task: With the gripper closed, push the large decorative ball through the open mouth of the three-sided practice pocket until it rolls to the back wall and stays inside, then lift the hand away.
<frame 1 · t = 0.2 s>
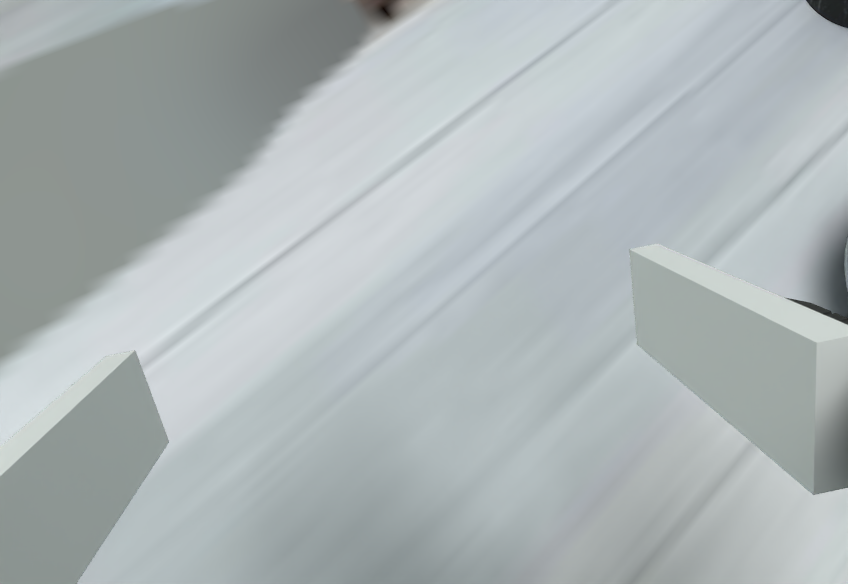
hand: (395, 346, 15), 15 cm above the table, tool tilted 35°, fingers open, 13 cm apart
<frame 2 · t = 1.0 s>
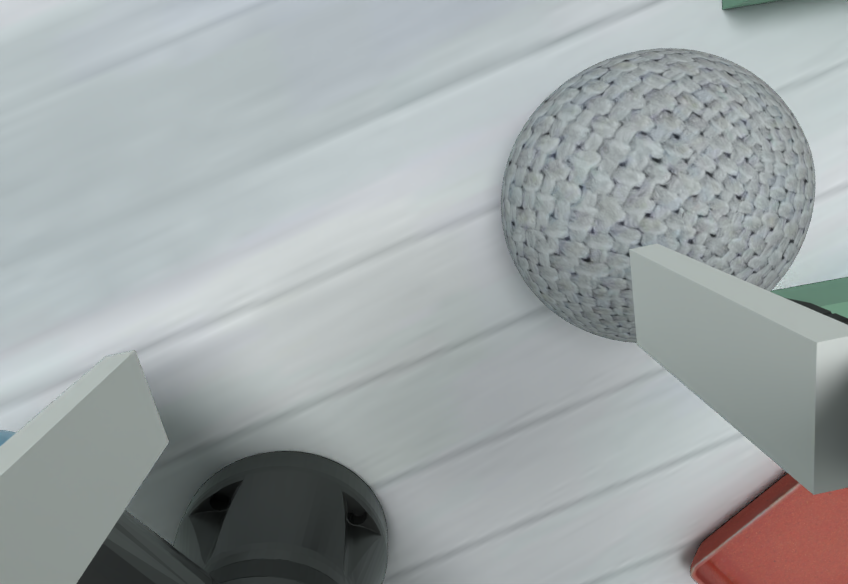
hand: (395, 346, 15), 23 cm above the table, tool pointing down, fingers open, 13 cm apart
decorative ball: (589, 187, 37), on the table
plant saucer: (810, 534, 48), on the table
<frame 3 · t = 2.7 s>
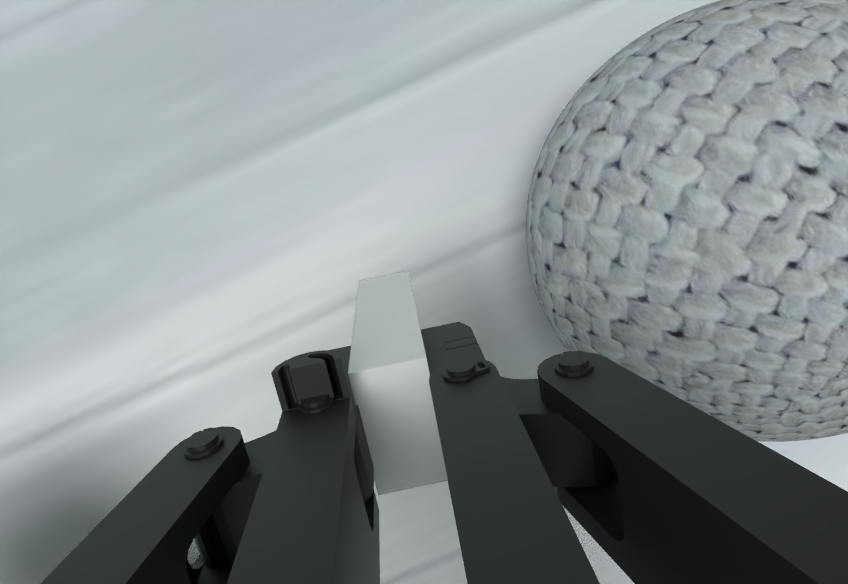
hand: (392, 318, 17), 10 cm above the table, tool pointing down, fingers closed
decorative ball: (640, 199, 28), on the table
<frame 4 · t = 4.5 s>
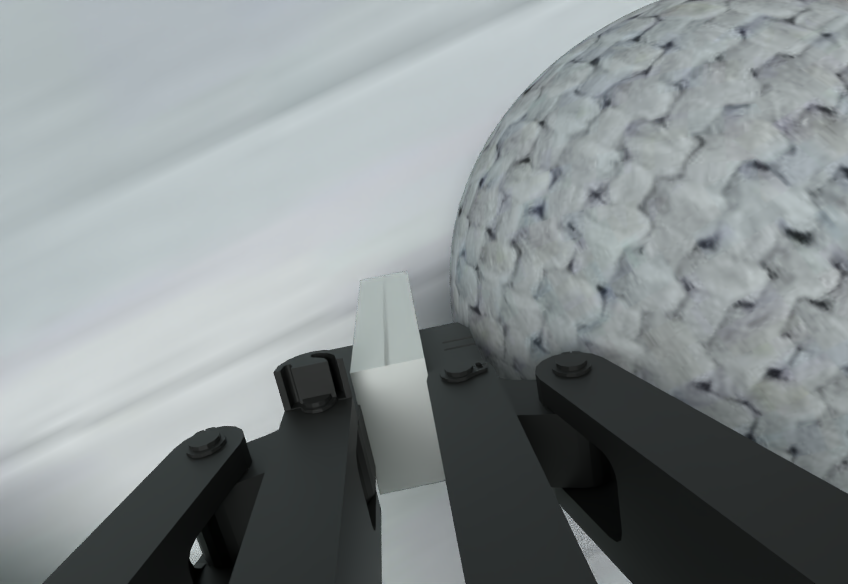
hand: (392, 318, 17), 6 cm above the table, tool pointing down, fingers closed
decorative ball: (607, 230, 23), on the table, touching gripper
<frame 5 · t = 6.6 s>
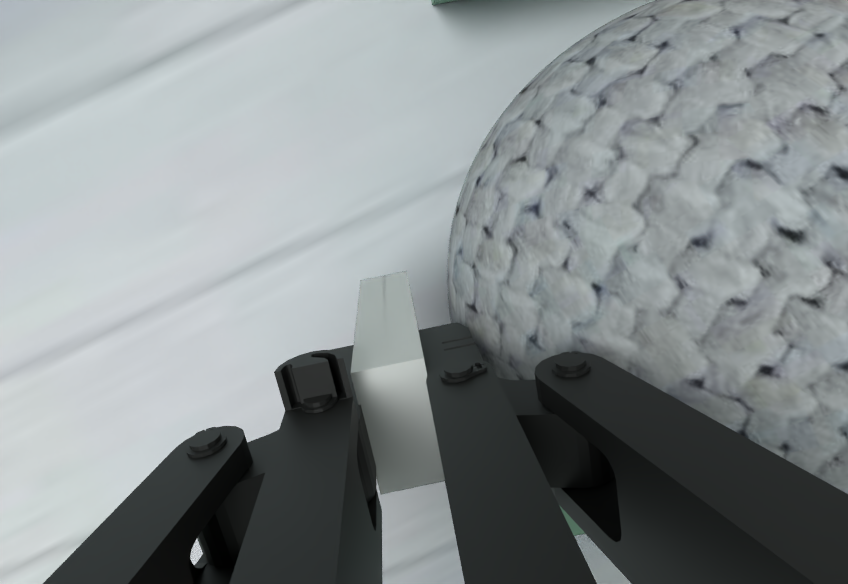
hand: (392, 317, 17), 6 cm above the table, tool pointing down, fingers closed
decorative ball: (605, 229, 23), on the table, touching gripper
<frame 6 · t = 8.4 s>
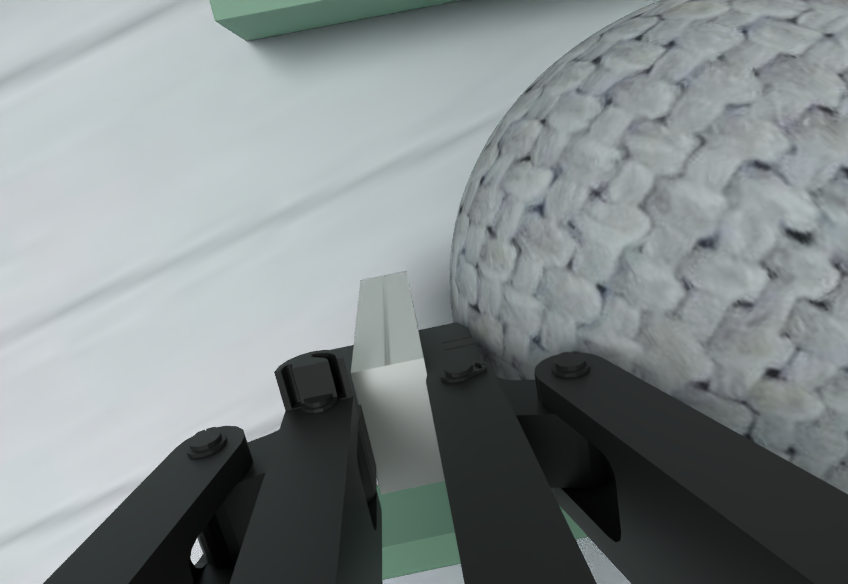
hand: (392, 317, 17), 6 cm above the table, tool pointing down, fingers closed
practice pocket: (551, 243, 23), on the table
decorative ball: (608, 230, 23), on the table, touching gripper
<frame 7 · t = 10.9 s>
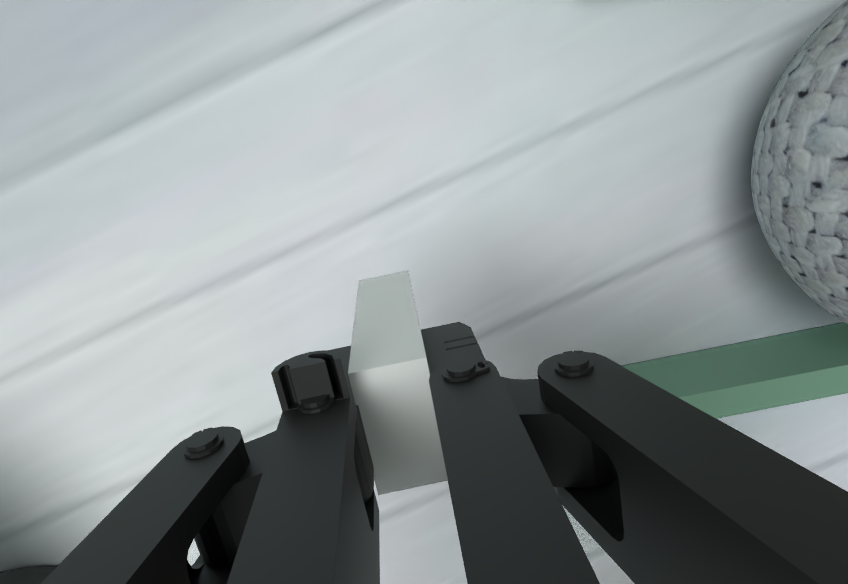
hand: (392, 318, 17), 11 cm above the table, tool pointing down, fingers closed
practice pocket: (787, 153, 27), on the table
decorative ball: (835, 141, 27), on the table
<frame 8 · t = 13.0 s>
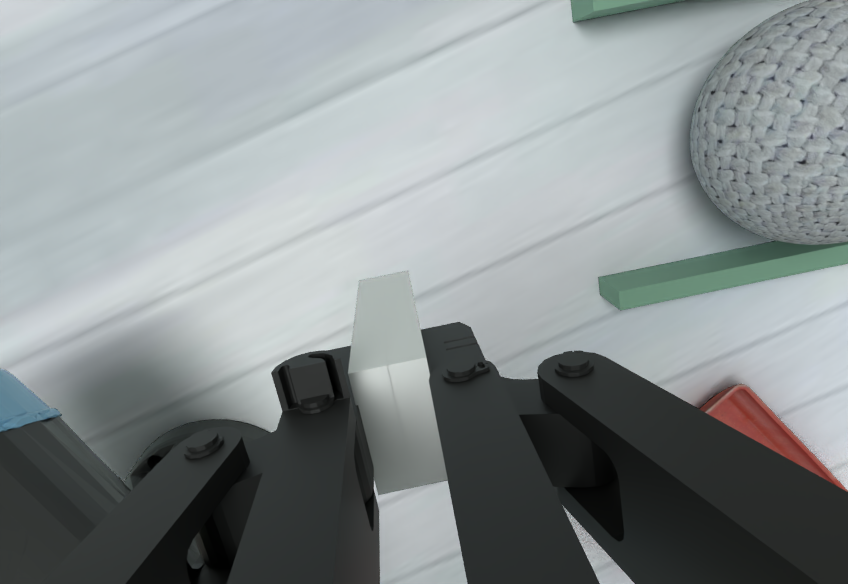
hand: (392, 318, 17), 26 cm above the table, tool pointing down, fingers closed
practice pocket: (715, 132, 43), on the table
decorative ball: (745, 125, 43), on the table
plant saucer: (700, 488, 53), on the table
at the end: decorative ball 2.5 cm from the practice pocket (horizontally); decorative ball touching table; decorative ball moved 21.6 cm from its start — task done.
